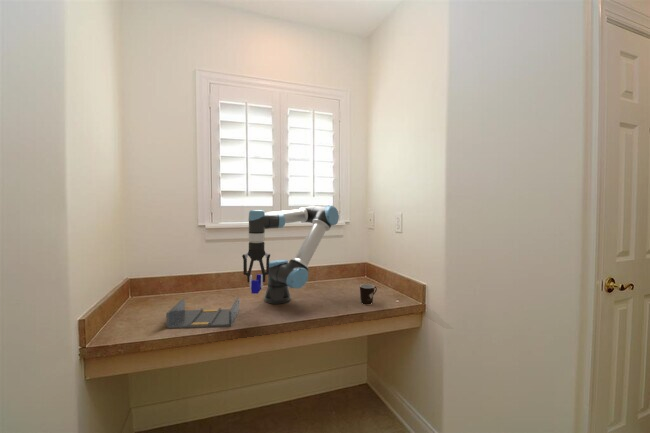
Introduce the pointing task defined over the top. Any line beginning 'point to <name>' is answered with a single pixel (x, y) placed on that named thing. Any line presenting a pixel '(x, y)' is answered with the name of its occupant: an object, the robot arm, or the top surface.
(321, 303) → the top surface
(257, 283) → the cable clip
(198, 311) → the desk rack
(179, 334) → the top surface
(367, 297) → the coffee mug
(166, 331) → the top surface
